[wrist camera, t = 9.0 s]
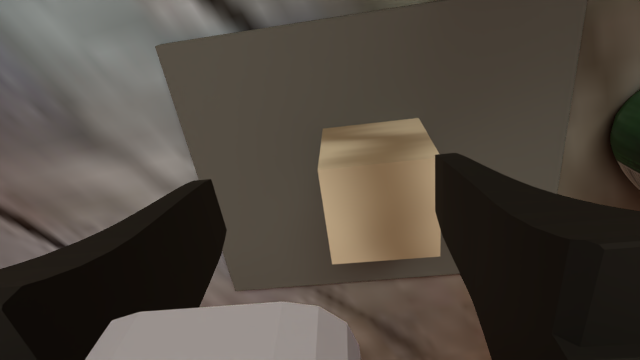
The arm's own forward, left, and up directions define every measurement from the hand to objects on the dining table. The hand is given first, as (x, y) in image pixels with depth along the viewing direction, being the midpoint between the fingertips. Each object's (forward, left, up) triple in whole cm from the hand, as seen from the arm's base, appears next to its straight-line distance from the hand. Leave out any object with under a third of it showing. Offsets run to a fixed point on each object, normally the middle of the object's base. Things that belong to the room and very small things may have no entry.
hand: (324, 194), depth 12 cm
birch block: (+2, -3, -9) cm, 9 cm away
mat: (+2, -4, -9) cm, 10 cm away
